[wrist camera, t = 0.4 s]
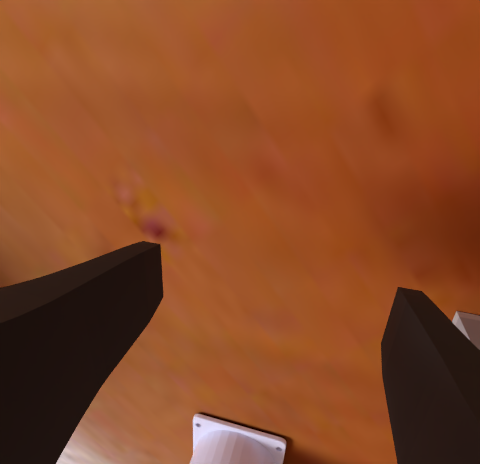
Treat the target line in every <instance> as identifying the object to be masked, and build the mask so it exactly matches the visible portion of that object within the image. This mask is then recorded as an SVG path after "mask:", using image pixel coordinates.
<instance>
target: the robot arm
mask: <svg viewBox="0 0 480 464" xmlns="http://www.w3.org/2000/svg"><path fill="white" fill-rule="evenodd" d="M162 298H163V282H162V265H161V248H160V244H156V243H150V242H145V241H142V242H138V243H135V244H132V245H129V246H126V247H123V248H121V249H118V250H115V251H113V252H110V253H108V254H105V255H102V256H100V257H97V258H94V259H92V260H89V261H87V262H84V263H81V264H78V265H75V266H72V267H70V268H67V269H64V270H61V271H58V272H55V273H52V274H49V275H46V276H43V277H40V278H36V279H33V280H30V281H26V282H22V283H18V284H15V285H11V286H7V287H3V288H0V464H56V462H57V460H58V459H59V457H60V455H61V453H62V451H63V450H64V448H65V446H66V444H67V443H68V441H69V439H70V437H71V436H72V434H73V432H74V430H75V429H76V427H77V425H78V423H79V422H80V420H81V418H82V417H83V415H84V414H85V412H86V410H87V409H88V407H89V405H90V404H91V402H92V400H93V399H94V397H95V396H96V394H97V392H98V391H99V389H100V388H101V386H102V385H103V383H104V382H105V381H106V379H107V378H108V376H109V375H110V374H111V372H112V371H113V370H114V368H115V367H116V366H117V365H118V363H119V362H120V361H121V359H122V358H123V357H124V355H125V354H126V353H127V351H128V350H129V349H130V347H131V346H132V345H133V343H134V342H135V341H136V339H137V338H138V337H139V335H140V334H141V333H142V331H143V330H144V329H145V327H146V326H147V325H148V323H149V322H150V320H151V318H152V317H153V315H154V313H155V311H156V309H157V308H158V306H159V304H160V302H161V300H162ZM381 355H382V376H383V383H384V389H385V394H386V400H387V406H388V412H389V417H390V423H391V428H392V434H393V440H394V445H395V451H396V456H397V463H398V464H480V350H479V349H478V348H477V347H476V346H475V345H474V344H473V343H472V342H471V341H470V340H469V339H468V338H467V337H466V336H465V335H464V334H463V333H462V332H461V331H460V330H459V329H458V328H457V327H456V326H455V325H454V324H453V323H452V322H451V321H450V320H449V319H448V317H447V316H446V315H445V314H444V313H443V312H442V311H441V310H440V309H439V308H438V307H437V306H436V305H435V304H434V303H433V302H432V301H431V300H430V299H429V298H428V297H427V296H426V295H425V294H424V293H423V292H422V291H418V290H412V289H406V288H401V287H398V289H397V292H396V296H395V299H394V302H393V306H392V309H391V312H390V315H389V319H388V322H387V325H386V329H385V332H384V335H383V339H382V342H381ZM285 449H286V440H285V439H283V438H281V437H278V436H274V435H271V434H267V433H264V432H261V431H257V430H254V429H250V428H247V427H243V426H240V425H236V424H233V423H229V422H226V421H222V420H219V419H216V418H212V417H209V416H205V415H202V414H195V416H194V418H193V456H192V459H191V461H190V464H283V460H284V455H285Z"/></svg>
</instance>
